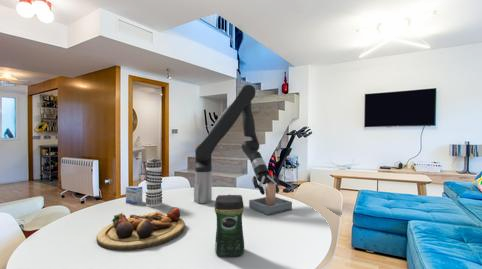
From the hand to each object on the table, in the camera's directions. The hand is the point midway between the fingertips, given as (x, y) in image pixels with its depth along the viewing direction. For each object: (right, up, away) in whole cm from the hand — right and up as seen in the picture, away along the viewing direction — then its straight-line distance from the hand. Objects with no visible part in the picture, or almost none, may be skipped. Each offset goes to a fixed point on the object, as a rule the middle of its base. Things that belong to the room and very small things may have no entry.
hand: (270, 193), depth 125 cm
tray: (0, -8, +1) cm, 8 cm away
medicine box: (-76, -8, +13) cm, 78 cm away
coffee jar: (-19, -9, -45) cm, 50 cm away
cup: (0, -7, +1) cm, 7 cm away
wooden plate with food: (-54, -9, -29) cm, 62 cm away
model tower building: (-63, -8, +9) cm, 64 cm away
